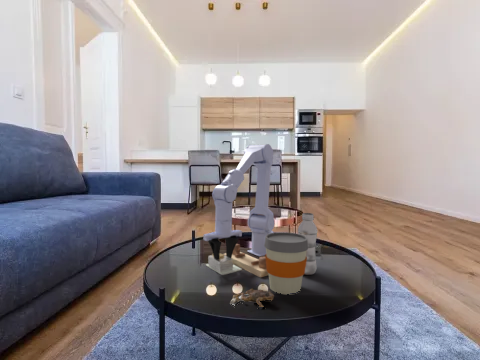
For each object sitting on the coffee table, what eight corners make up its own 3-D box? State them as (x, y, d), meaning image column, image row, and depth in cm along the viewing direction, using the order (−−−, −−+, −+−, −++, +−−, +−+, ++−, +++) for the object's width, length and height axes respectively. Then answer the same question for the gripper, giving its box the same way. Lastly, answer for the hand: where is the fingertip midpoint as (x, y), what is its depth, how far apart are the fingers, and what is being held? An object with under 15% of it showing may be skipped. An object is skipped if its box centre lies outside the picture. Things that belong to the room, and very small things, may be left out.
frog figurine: (281, 297, 79) (281, 284, 79) (267, 318, 69) (267, 302, 68) (243, 289, 84) (243, 276, 84) (224, 308, 73) (224, 293, 73)
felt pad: (224, 261, 107) (224, 260, 107) (242, 270, 98) (242, 269, 98) (205, 265, 103) (205, 264, 103) (222, 275, 94) (222, 274, 94)
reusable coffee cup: (303, 300, 77) (305, 244, 76) (258, 292, 81) (259, 240, 80) (309, 282, 88) (310, 234, 88) (269, 277, 93) (270, 230, 92)
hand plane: (237, 255, 114) (238, 240, 114) (276, 272, 96) (276, 255, 96) (222, 259, 110) (223, 243, 110) (260, 277, 92) (260, 259, 92)
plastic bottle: (317, 271, 98) (318, 212, 97) (315, 278, 92) (317, 216, 91) (298, 268, 100) (299, 211, 99) (295, 275, 94) (296, 214, 93)
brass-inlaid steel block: (220, 263, 104) (220, 251, 104) (232, 269, 98) (232, 257, 97) (208, 265, 101) (208, 253, 101) (220, 272, 95) (220, 259, 95)
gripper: (234, 216, 107) (233, 252, 108) (199, 219, 98) (198, 259, 99) (245, 219, 101) (244, 257, 102) (209, 223, 93) (208, 264, 93)
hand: (222, 258), depth 100 cm, fingers open, 5 cm apart
